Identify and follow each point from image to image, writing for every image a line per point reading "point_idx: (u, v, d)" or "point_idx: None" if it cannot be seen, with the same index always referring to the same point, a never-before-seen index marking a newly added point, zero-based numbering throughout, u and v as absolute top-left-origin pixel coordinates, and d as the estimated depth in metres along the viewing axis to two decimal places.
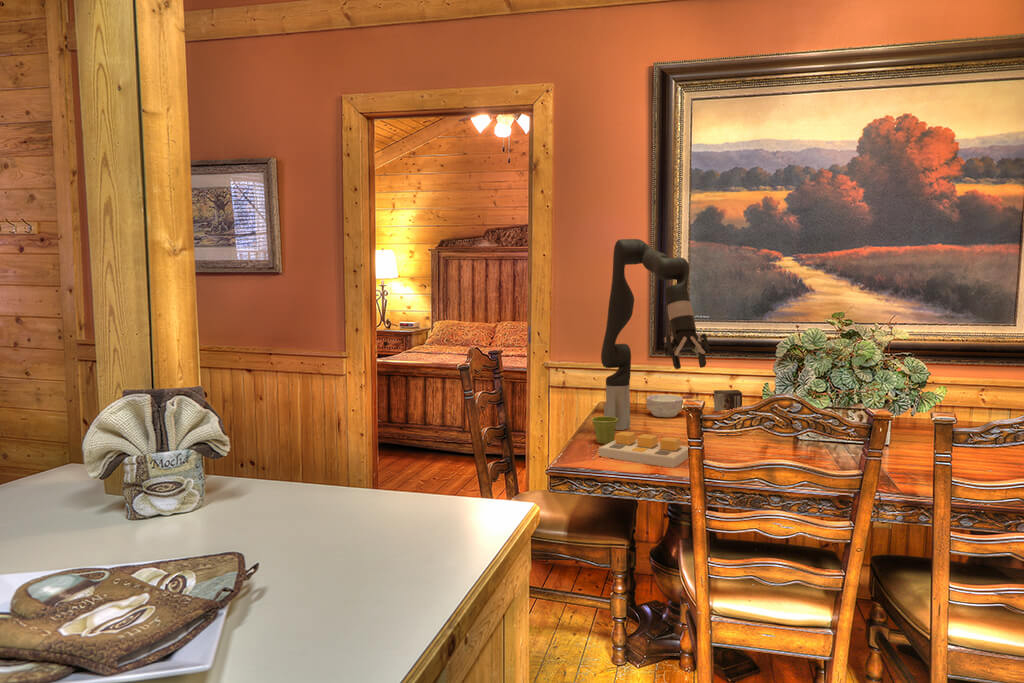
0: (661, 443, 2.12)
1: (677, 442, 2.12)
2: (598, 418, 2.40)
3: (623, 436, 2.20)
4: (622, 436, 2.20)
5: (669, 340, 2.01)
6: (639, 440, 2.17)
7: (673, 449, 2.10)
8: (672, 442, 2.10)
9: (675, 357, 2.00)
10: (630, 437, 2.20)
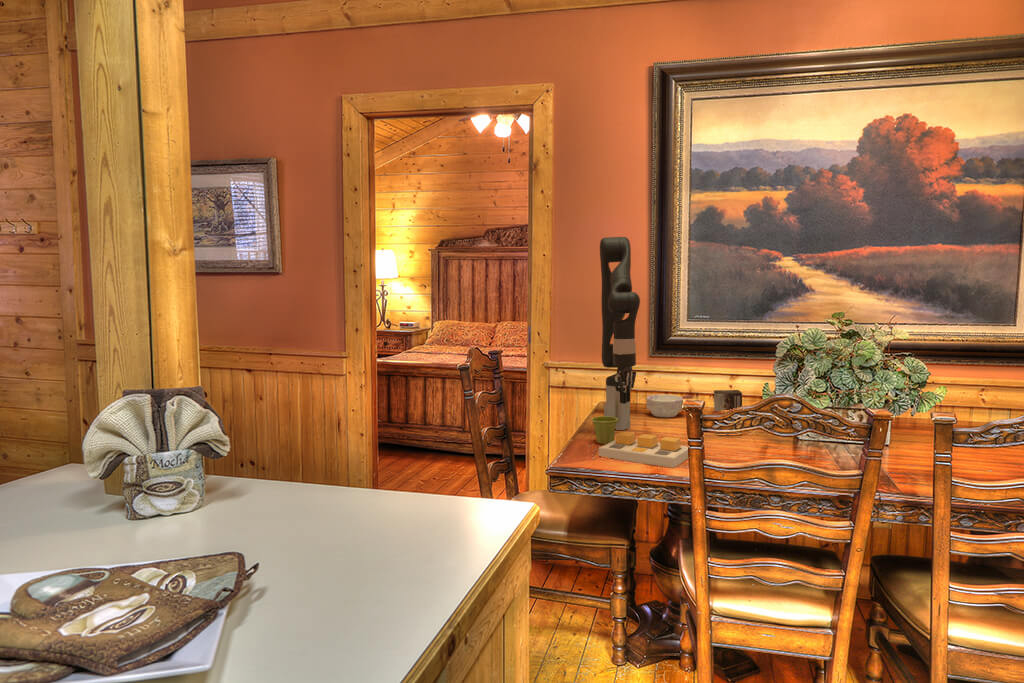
0: (661, 443, 2.12)
1: (677, 442, 2.12)
2: (598, 418, 2.40)
3: (623, 436, 2.20)
4: (622, 436, 2.20)
5: (621, 380, 2.16)
6: (639, 440, 2.17)
7: (673, 449, 2.10)
8: (672, 442, 2.10)
9: (624, 393, 2.19)
10: (630, 437, 2.20)
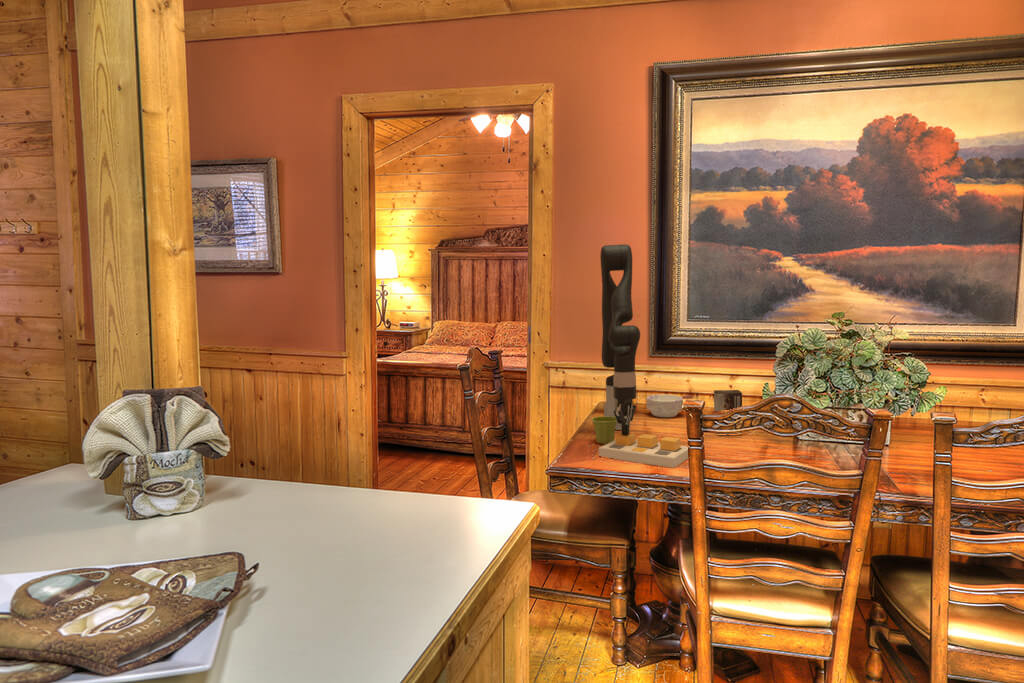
0: (661, 443, 2.12)
1: (677, 442, 2.12)
2: (598, 418, 2.40)
3: (623, 437, 2.20)
4: (622, 437, 2.20)
5: (622, 414, 2.17)
6: (639, 440, 2.17)
7: (673, 449, 2.10)
8: (672, 442, 2.10)
9: (625, 425, 2.21)
10: (630, 438, 2.20)
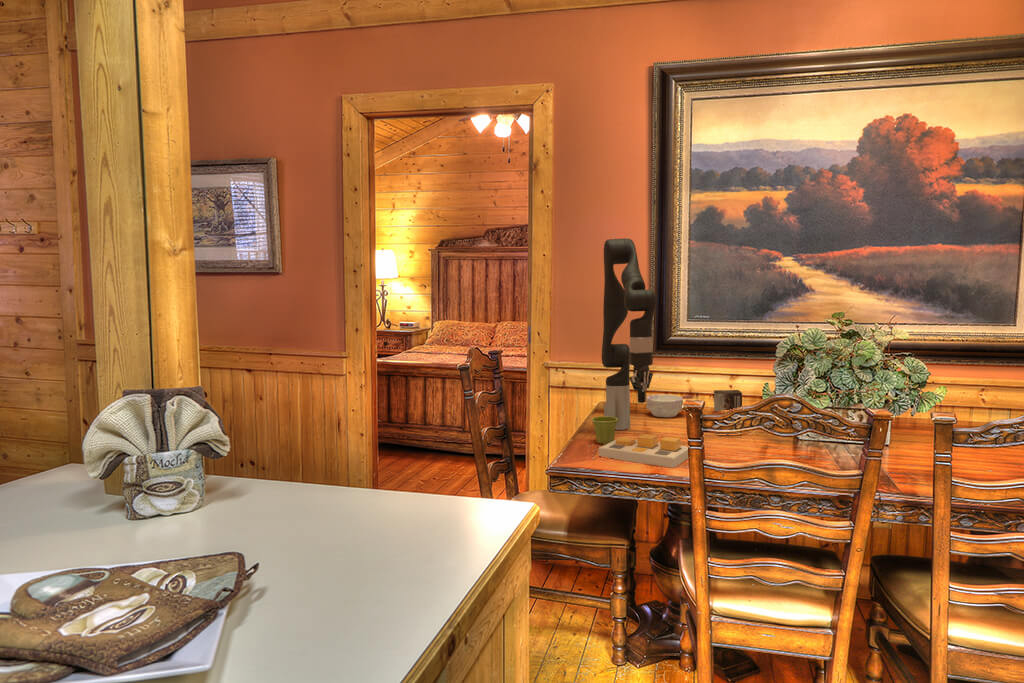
0: (661, 443, 2.12)
1: (677, 442, 2.12)
2: (598, 418, 2.40)
3: (623, 442, 2.20)
4: (622, 442, 2.21)
5: (638, 380, 2.12)
6: (639, 440, 2.17)
7: (673, 449, 2.10)
8: (672, 442, 2.10)
9: (642, 393, 2.15)
10: (630, 443, 2.20)
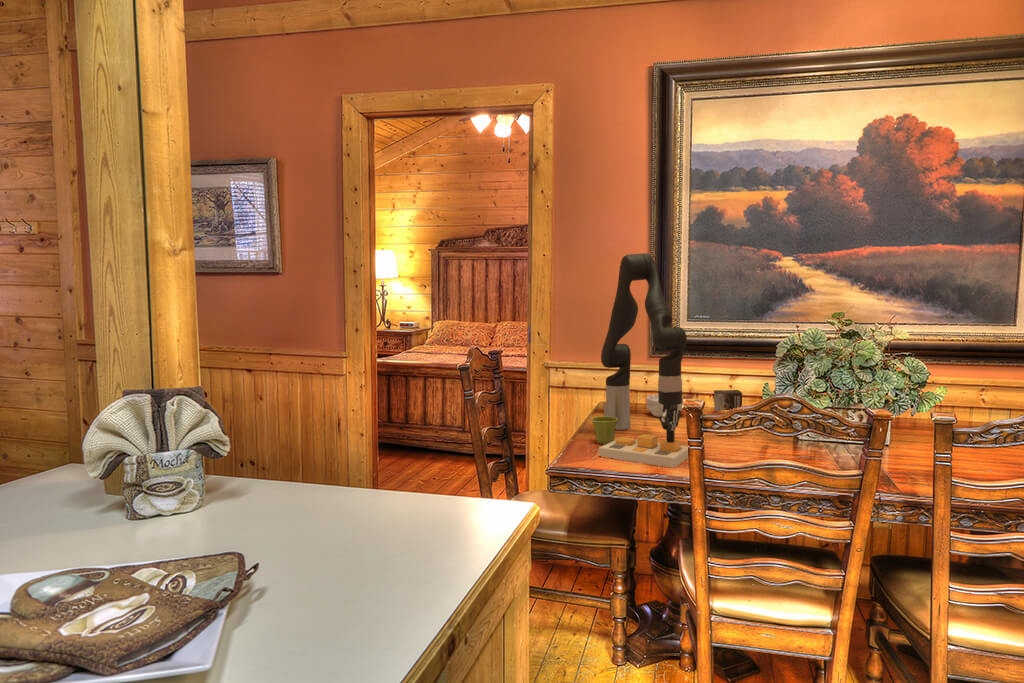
0: (661, 445, 2.12)
1: (677, 444, 2.12)
2: (598, 418, 2.40)
3: (623, 442, 2.20)
4: (622, 442, 2.21)
5: (668, 420, 2.08)
6: (639, 440, 2.17)
7: (673, 451, 2.10)
8: (672, 444, 2.10)
9: (671, 432, 2.12)
10: (630, 443, 2.20)
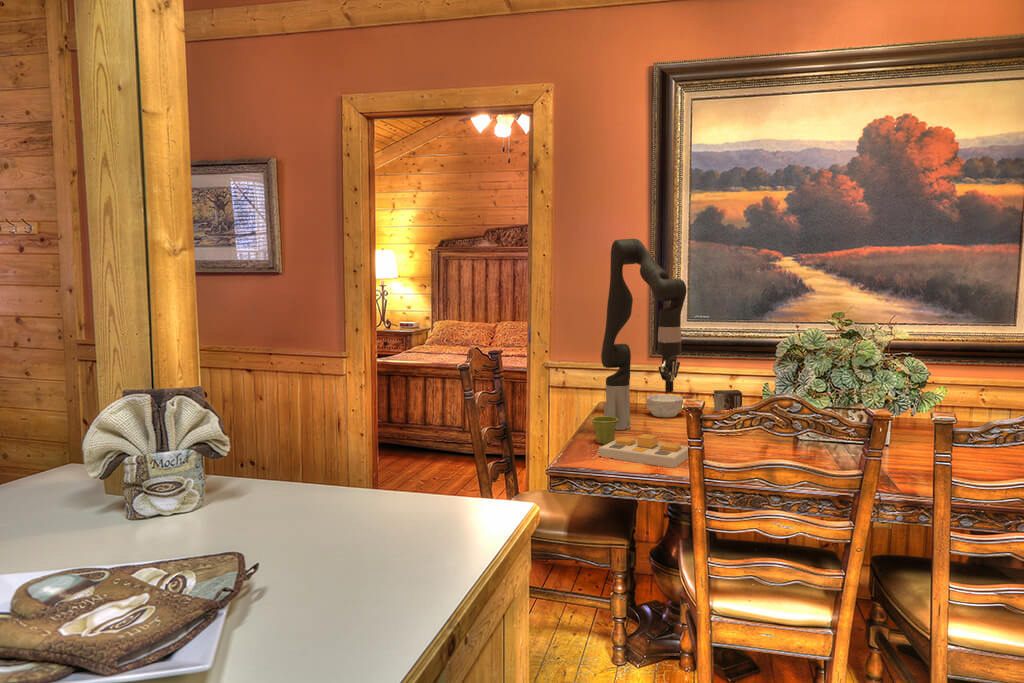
0: (661, 449, 2.13)
1: (677, 448, 2.12)
2: (598, 418, 2.40)
3: (623, 442, 2.20)
4: (622, 442, 2.21)
5: (667, 370, 2.11)
6: (639, 440, 2.17)
7: None
8: (672, 448, 2.10)
9: (670, 382, 2.15)
10: (630, 443, 2.20)
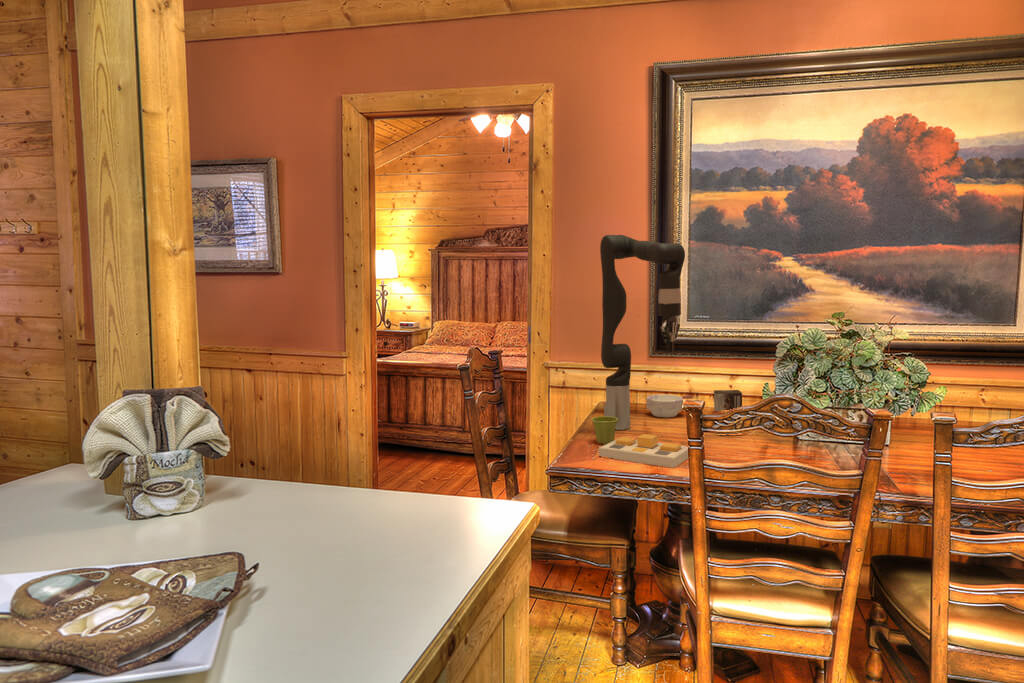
0: (661, 449, 2.13)
1: (677, 448, 2.12)
2: (598, 418, 2.40)
3: (623, 442, 2.20)
4: (622, 442, 2.21)
5: (667, 330, 2.21)
6: (639, 440, 2.17)
7: None
8: (672, 448, 2.10)
9: (670, 342, 2.25)
10: (630, 443, 2.20)
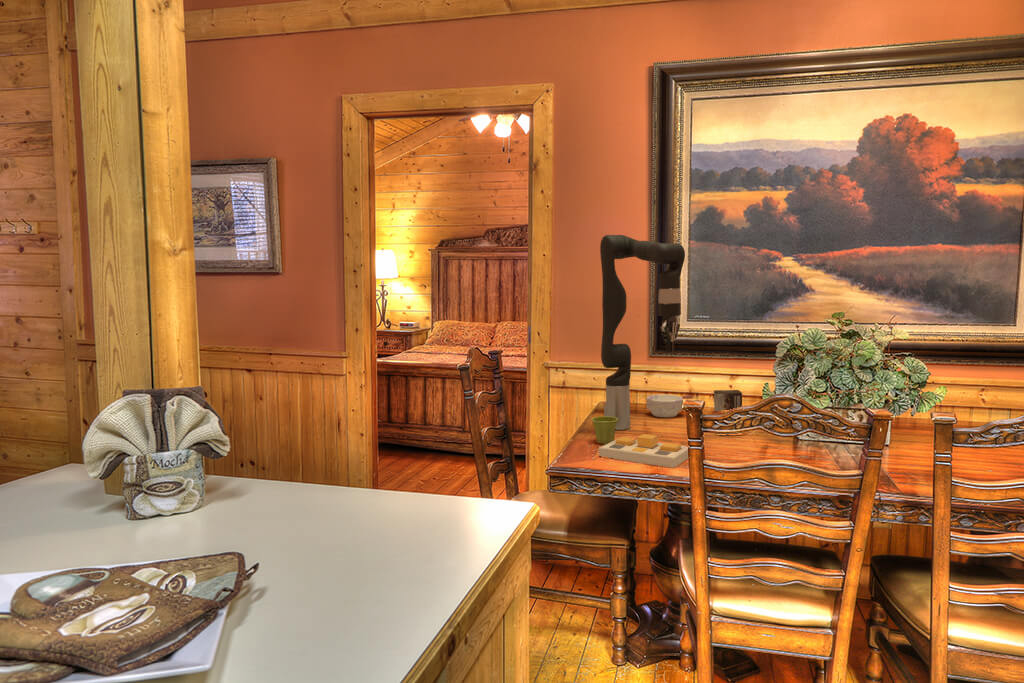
0: (661, 449, 2.13)
1: (677, 448, 2.12)
2: (598, 418, 2.40)
3: (623, 442, 2.20)
4: (622, 442, 2.21)
5: (667, 330, 2.21)
6: (639, 440, 2.17)
7: None
8: (672, 448, 2.10)
9: (670, 342, 2.25)
10: (630, 443, 2.20)
